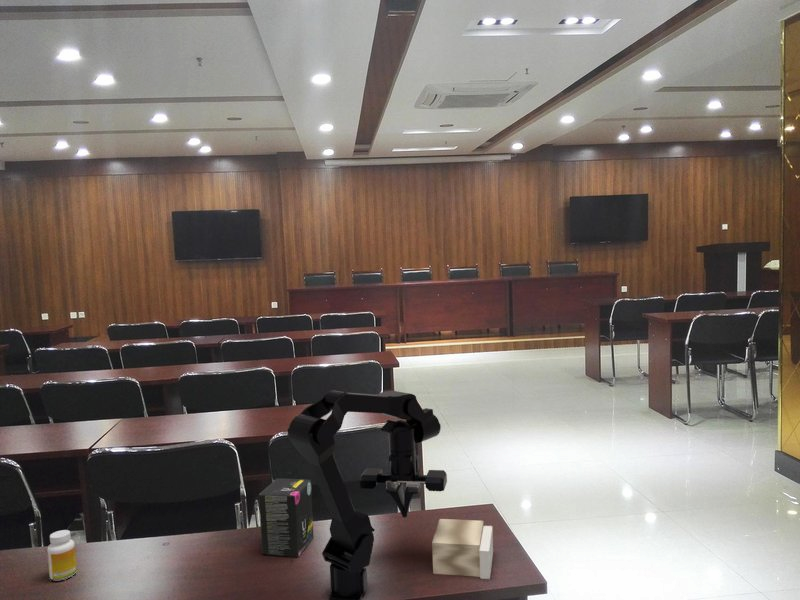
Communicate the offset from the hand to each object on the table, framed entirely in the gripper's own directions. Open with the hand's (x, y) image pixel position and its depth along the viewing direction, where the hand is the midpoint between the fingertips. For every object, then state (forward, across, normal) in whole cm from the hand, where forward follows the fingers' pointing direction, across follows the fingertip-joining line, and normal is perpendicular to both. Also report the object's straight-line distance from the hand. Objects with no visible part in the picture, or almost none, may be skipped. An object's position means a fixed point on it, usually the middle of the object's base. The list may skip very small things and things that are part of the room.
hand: (405, 516), depth 138 cm
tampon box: (+10, +29, -3) cm, 31 cm away
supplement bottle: (+10, +74, +17) cm, 77 cm away
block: (+10, -12, 0) cm, 15 cm away
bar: (+10, -18, 0) cm, 20 cm away
